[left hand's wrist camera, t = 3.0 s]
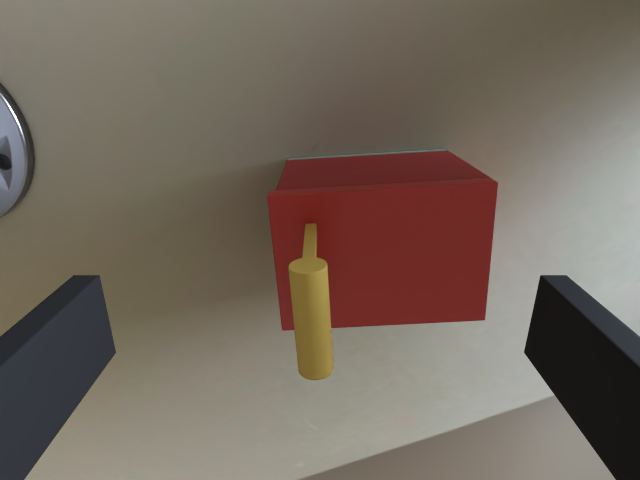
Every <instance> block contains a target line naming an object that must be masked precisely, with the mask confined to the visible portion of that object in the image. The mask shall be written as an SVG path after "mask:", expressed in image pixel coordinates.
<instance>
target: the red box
mask: <svg viewBox="0 0 640 480" xmlns="http://www.w3.org/2000/svg"><path fill="white" fill-rule="evenodd" d="M475 178H490V177H489V176H487V175H485V174H484V173H482V172H481V171H479V170H478V169H476V168H474V167H473V166H471V165H470V164H468V163H467V162H465V161H463V160H462V159H460V158H459V157H457V156H456V155H454V154H452V153H451V152H449V151H448V150H447V149H432V150H415V151H399V152H383V153H366V154H350V155H333V156H317V157H300V158H287V162H286V165H285V168H284V170H283V173H282V176H281V178H280V181H279V184H278V187H277V189H276V190H289V189H306V188H323V187H340V186H357V185H374V184H391V183H408V182H425V181H441V180H458V179H475Z"/></svg>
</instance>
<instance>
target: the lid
mask: <svg viewBox="0 0 640 480" xmlns="http://www.w3.org/2000/svg"><path fill="white" fill-rule="evenodd" d="M497 187H498V182H496V181H495V180H493V179H492V178H475V179H458V180H441V181H425V182H408V183H391V184H374V185H357V186H340V187H323V188H306V189H289V190H272V191H270V192H269V194H268V206H269V215H270V224H271V234H272V243H273V252H274V261H275V270H276V279H277V288H278V297H279V306H280V315H281V324H282V330H295V340H296V350H297V360H298V370H299V373H300V375H301V376H303V377H304V378H306V379H309V380H320V379H323V378H326V377H328V376H329V375H330V374H331V373H332V371H333V368H334V366H333V349H332V333H331V328H342V327H361V326H381V325H400V324H420V323H440V322H459V321H479V320H485V313H486V303H487V292H488V282H489V271H490V261H491V250H492V240H493V229H494V219H495V208H496V198H497Z"/></svg>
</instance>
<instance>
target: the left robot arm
mask: <svg viewBox="0 0 640 480" xmlns="http://www.w3.org/2000/svg"><path fill="white" fill-rule="evenodd" d="M34 161H35V158H34V148H33V142H32V138H31V134H30V131H29V128H28V126H27V123H26V121H25V119H24V116H23V114H22V113H21V111H20V109H19V107H18V105H17V104H16V102H15V101H14V99H13V98H12V97H11V95H10V94H9V93H8V91H7V90H6V89H5V88H4V87H3V86H2V84H1V83H0V217H2V216H4V215H5V214H7V213H9V212H10V211H11V210H13V209H14V208H15V207H16V206H17V205H18V204H19V203H20V202H21V201H22V199H23V198H24V197H25V195H26V193H27V191H28V189H29V187H30V184H31V181H32V178H33V173H34ZM115 353H116V351H115V346H114V341H113V337H112V332H111V327H110V323H109V318H108V313H107V309H106V304H105V299H104V294H103V290H102V285H101V280H100V276H99V275H74V276H72V277H71V278H70V279H69V280H68V281H66V282H65V283H64V284H63V285H62V286H60V287H59V288H58V289H57V290H56V291H54V292H53V293H52V294H51V295H50V296H48V297H47V298H46V299H45V300H44V301H42V302H41V303H40V304H39V305H38V306H37V307H35V308H34V309H33V310H32V311H31V312H29V313H28V314H27V315H26V316H25V317H23V318H22V319H21V320H20V321H19V322H17V323H16V324H15V325H14V326H13V327H11V328H10V329H9V330H8V331H7V332H5V333H4V334H3V335H2V336H1V337H0V480H24V479H25V478H26V476H27V475H28V473H29V472H30V471H31V469H32V468H33V467H34V465H35V464H36V462H37V461H38V460H39V458H40V457H41V455H42V454H43V453H44V451H45V450H46V449H47V447H48V446H49V444H50V443H51V442H52V440H53V439H54V437H55V436H56V435H57V433H58V432H59V431H60V429H61V428H62V426H63V425H64V424H65V422H66V421H67V419H68V418H69V417H70V415H71V414H72V413H73V411H74V410H75V408H76V407H77V406H78V404H79V403H80V401H81V400H82V399H83V397H84V396H85V394H86V393H87V392H88V390H89V389H90V388H91V386H92V385H93V383H94V382H95V381H96V379H97V378H98V376H99V375H100V374H101V372H102V371H103V370H104V368H105V367H106V365H107V364H108V363H109V361H110V360H111V358H112V357H113V356H114V354H115ZM524 353H525V354H526V356H527V357H528V358H529V360H530V361H531V363H532V364H533V365H534V367H535V368H536V370H537V371H538V372H539V374H540V375H541V376H542V378H543V379H544V381H545V382H546V383H547V385H548V386H549V388H550V389H551V390H552V392H553V393H554V394H555V396H556V397H557V399H558V400H559V401H560V403H561V404H562V406H563V407H564V408H565V410H566V411H567V413H568V414H569V415H570V417H571V418H572V419H573V421H574V422H575V424H576V425H577V426H578V428H579V429H580V431H581V432H582V433H583V435H584V436H585V437H586V439H587V440H588V442H589V443H590V444H591V446H592V447H593V449H594V450H595V451H596V453H597V454H598V455H599V457H600V458H601V460H602V461H603V462H604V464H605V465H606V466H607V468H608V469H609V471H610V472H611V473H612V475H613V476H614V478H615V479H616V480H640V337H639V336H638V335H637V334H636V333H635V332H633V331H632V330H631V329H630V328H629V327H627V326H626V325H625V324H624V323H623V322H621V321H620V320H619V319H618V318H617V317H615V316H614V315H613V314H612V313H611V312H609V311H608V310H607V309H606V308H605V307H603V306H602V305H601V304H600V303H599V302H598V301H596V300H595V299H594V298H593V297H592V296H590V295H589V294H588V293H587V292H586V291H584V290H583V289H582V288H581V287H580V286H578V285H577V284H576V283H575V282H574V281H572V280H571V279H570V278H569V277H568V276H566V275H541V276H540V280H539V285H538V290H537V294H536V299H535V304H534V309H533V313H532V318H531V323H530V327H529V332H528V337H527V341H526V346H525V351H524Z"/></svg>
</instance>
